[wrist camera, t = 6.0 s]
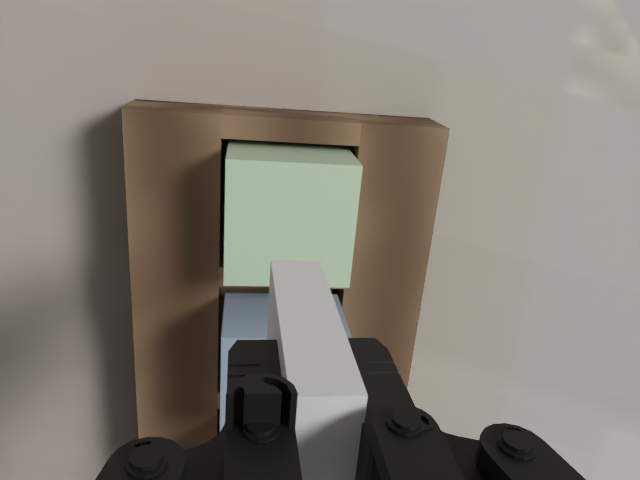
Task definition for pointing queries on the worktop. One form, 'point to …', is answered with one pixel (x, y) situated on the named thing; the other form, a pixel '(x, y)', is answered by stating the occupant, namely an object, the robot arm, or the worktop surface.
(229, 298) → the slate button
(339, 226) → the sage button
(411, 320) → the board
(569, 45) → the worktop surface
